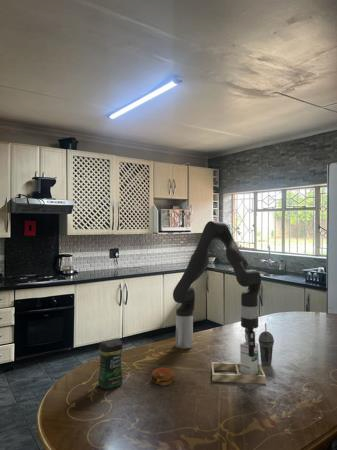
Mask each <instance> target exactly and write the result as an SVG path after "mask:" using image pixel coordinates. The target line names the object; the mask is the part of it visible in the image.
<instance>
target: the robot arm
mask: <svg viewBox="0 0 337 450" xmlns="http://www.w3.org/2000/svg"><path fill="white" fill-rule="evenodd" d="M213 240H214V241H220V242H221V243H222V244H223V245H224V247H225V256H226V259H227V261H228V263H229V264H230V265H231V268H232V269H233V271H234V272H233V273H234V275H235V279H236V281H237V283H238V284H239V285H240V286H241V287H244V288H245V287H246V288H247V289H246V290H245V291H243V292H241V295H240V297H241V298H240V303H241V305H240V326H241V327H242V328H244V338H245V339H244V340H245V342H247V343H248V347H249V357H254V348H255V343H256V331H255V329H257V328H259V307H258V304H259V303H258V302H259V301H258V297H259V292H260V288H261V285H262V275H261V273H260V271H258V270H257V269H248V270H247V267H248V266H249V263H248V260H247V259H246V258H245V256H244V255H243V253H242V252H241V250H240V249H239V247H238V245H237V244H236V241H235V239H234V237H233V235H232V232H231V230H230V228H229V227H228V225H227V223H225V222H222V221H217V220H210V221H207V223H206V224H205V225H204V227H203V229H202V233H201V235H200V238H199V241H198V243H197V245H196V248H195V250H194V252H193V254H192V256H191V258H190V259H189V261H188V264H187V266H186V268H185V270H184V272H183V274H182V275H181V278H180V279H179V280H178V283H177V284H176V285H175V287H174V288H173V292H172V299H173V301H174V302H175V303H177V304H181V305H180V306H178V308H176V310H175V315H176V316H175V348H178V349H184V350H186V349H191V348H193V346H194V319H193V317H194V310H195V300H196V296H195V295H196V294H195V290H194V289H195V288H194V287H193V286H192V285H193V283H194V282H196V281H197V280H198V279H199V278H200V277H201V276H202V275H203V274H204V273H205V271H206V269H207V267H208V265H209V263H210V262H209V261H210V257H209V247H210V245H211V244H212V241H213ZM250 343H253V345H250Z"/></svg>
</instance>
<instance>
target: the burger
mask: <svg viewBox="0 0 337 450" xmlns="http://www.w3.org/2000/svg"><path fill="white" fill-rule="evenodd" d="M175 377H176V376H175V373H174V371H173V370H172V369H170V368H168V367H158V368H156V369H154V370H153V371H152V372H151V380H152V381H153V383H154V384H156V385H160V386H163V387H164V386H168V385H169V386H170V385H171V384H173V382H174V380H175Z"/></svg>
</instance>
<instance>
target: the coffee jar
mask: <svg viewBox="0 0 337 450" xmlns="http://www.w3.org/2000/svg"><path fill="white" fill-rule="evenodd" d="M123 347H124V346H123V341H122V340H121V339H120V338H118V337H117V338H113V339H108V340H101V341H100V342H99V347H98V352H99V356H100V358H99V359H100V361H99V362H100V363H99V372H98V373H99V374H98V380H97V381H98V386H99V387H100V388H101V389H105V390H109V389H114V388H117V387H120V386H122V384H123V382H124V381H123V370H122V369H123V367H122V353H123V350H124V348H123Z"/></svg>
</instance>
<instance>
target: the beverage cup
mask: <svg viewBox="0 0 337 450" xmlns="http://www.w3.org/2000/svg"><path fill="white" fill-rule="evenodd" d="M264 326H265V327H264V328H265V331H262V332H261V333H260V334H259V335H258V340H257V341H258V346H259V352H260V353H259V354H260V355H259V357H260V365H261V366H263V365H264V366H263V367H271V366H272V359H273V351H274V350H273V347H274V342H275V340H274V336H273V334H272V333H271V332H269V331H267V323H266V322H265V323H264Z"/></svg>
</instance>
